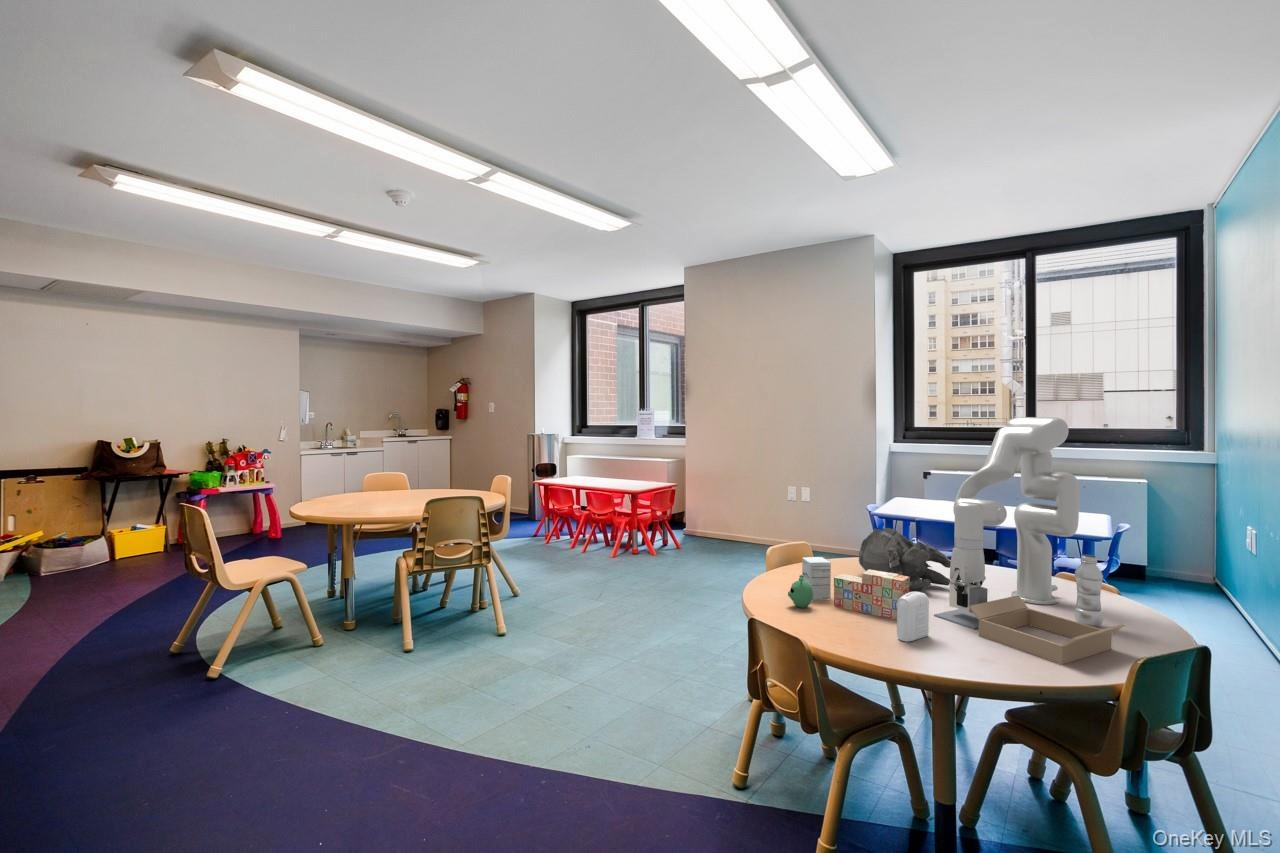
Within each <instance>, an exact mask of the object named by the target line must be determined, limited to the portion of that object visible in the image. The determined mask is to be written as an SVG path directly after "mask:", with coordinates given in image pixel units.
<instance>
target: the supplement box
mask: <svg viewBox="0 0 1280 853" xmlns="http://www.w3.org/2000/svg"><path fill="white" fill-rule="evenodd" d="M801 561H802V565H801V567H802V569H801V570H802V571H801V572H802V573H801V575H803V576H804V577H803V579H804V580H803V581H806V582H808V583H809V584H810V586H811V588H812V591H813V598H812V601H828V600H827V599H830V600H831V598H832V597H831V590H832V589H831V586H832V585H831V582H832V581H831V578H832V576H831V575H832V574H831V573H832V570H831V569H832V564H831V561H829V560H827V559H826V558H825V557H823V556H809V557H808V556H806V557H802V560H801Z"/></svg>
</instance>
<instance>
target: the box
mask: <svg viewBox="0 0 1280 853" xmlns="http://www.w3.org/2000/svg"><path fill="white" fill-rule="evenodd" d="M960 585H961V587H962V588H963V585H962V584H960ZM948 592H949V593H948V594H949V598H948V599H949V603H948V606H949V607H952V608H955V609H961V610H964V611H967V612H971V613H973V612H972V611H971V609H970V608H969V606H971V605H976V604H980V603H985V602H988V593H989V592H988V588H986V587H983V586H981V587H980V586H976V585H973V584H968V585H967V591H966V594H968V607H966V608H965V607H962V606H959V605H957V592H956V591H955V588H954V587H953V586H952V585H951V584H949V590H948Z"/></svg>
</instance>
